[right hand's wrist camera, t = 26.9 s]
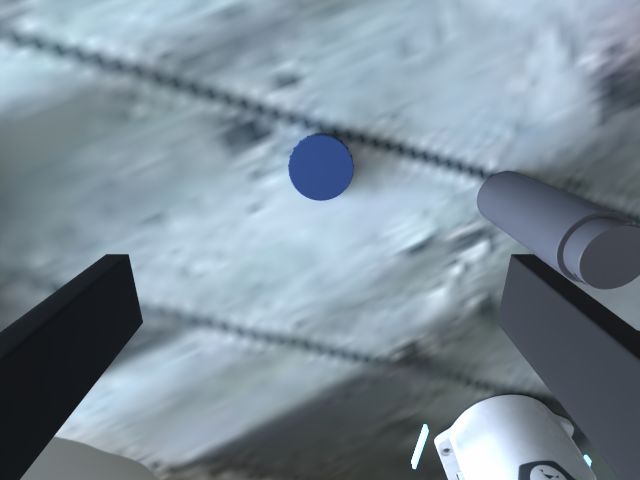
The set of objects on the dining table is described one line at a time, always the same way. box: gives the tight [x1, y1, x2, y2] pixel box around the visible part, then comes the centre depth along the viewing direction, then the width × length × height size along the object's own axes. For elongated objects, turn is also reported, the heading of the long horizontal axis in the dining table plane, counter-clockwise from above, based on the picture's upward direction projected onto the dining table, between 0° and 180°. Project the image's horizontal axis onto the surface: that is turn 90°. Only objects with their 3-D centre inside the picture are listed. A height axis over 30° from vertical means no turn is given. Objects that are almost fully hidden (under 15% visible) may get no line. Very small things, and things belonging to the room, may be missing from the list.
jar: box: [477, 171, 640, 289], centre depth 31 cm, size 6×6×16 cm
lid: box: [288, 133, 354, 201], centre depth 37 cm, size 6×6×2 cm
